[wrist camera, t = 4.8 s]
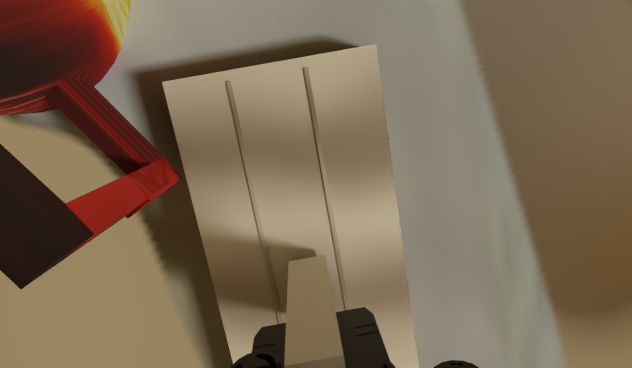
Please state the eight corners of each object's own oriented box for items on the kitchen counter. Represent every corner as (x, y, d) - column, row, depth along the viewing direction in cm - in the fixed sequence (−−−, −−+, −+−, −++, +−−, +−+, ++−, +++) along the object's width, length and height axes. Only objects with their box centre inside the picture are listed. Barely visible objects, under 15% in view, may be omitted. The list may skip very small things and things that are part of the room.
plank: (173, 82, 16) (161, 81, 15) (368, 48, 17) (376, 43, 15) (263, 446, 21) (260, 474, 19) (419, 416, 21) (429, 442, 19)
